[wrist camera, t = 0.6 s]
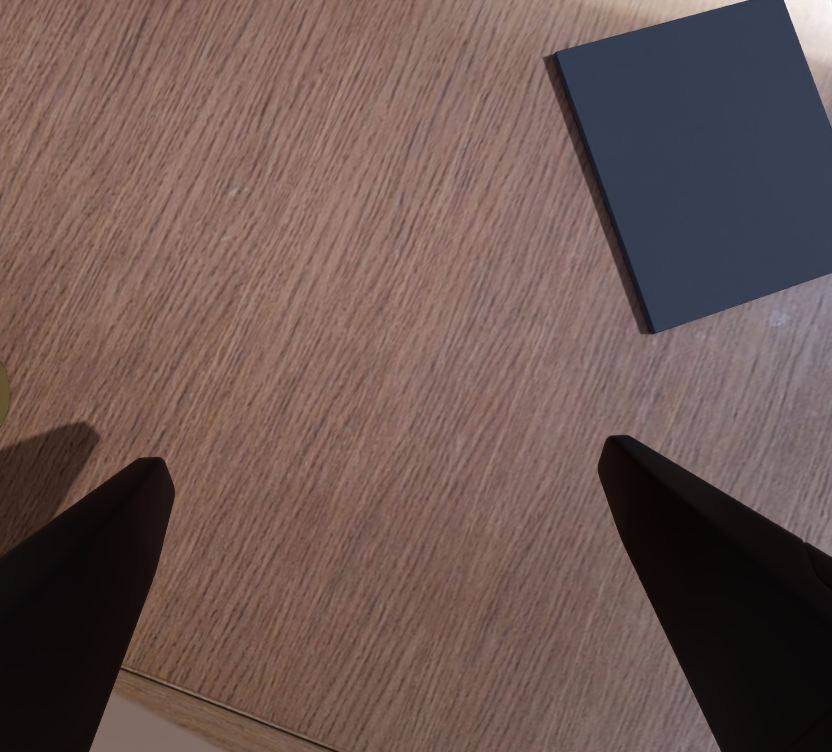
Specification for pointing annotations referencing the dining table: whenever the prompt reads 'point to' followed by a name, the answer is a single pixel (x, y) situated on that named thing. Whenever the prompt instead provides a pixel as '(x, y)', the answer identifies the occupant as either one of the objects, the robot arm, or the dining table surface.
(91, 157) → the dining table surface
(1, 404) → the cork
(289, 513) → the dining table surface
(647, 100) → the book
